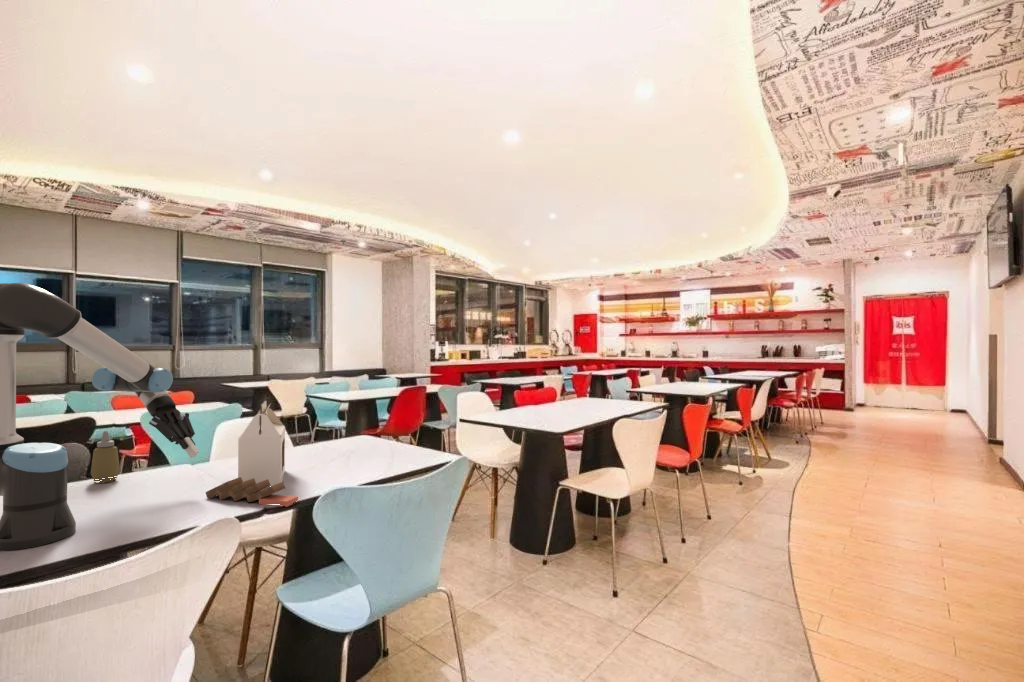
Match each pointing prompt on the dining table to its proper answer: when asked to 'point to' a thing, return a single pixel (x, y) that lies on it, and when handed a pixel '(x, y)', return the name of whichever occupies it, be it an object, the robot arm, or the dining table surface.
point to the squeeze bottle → (105, 460)
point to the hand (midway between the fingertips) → (195, 454)
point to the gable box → (262, 448)
